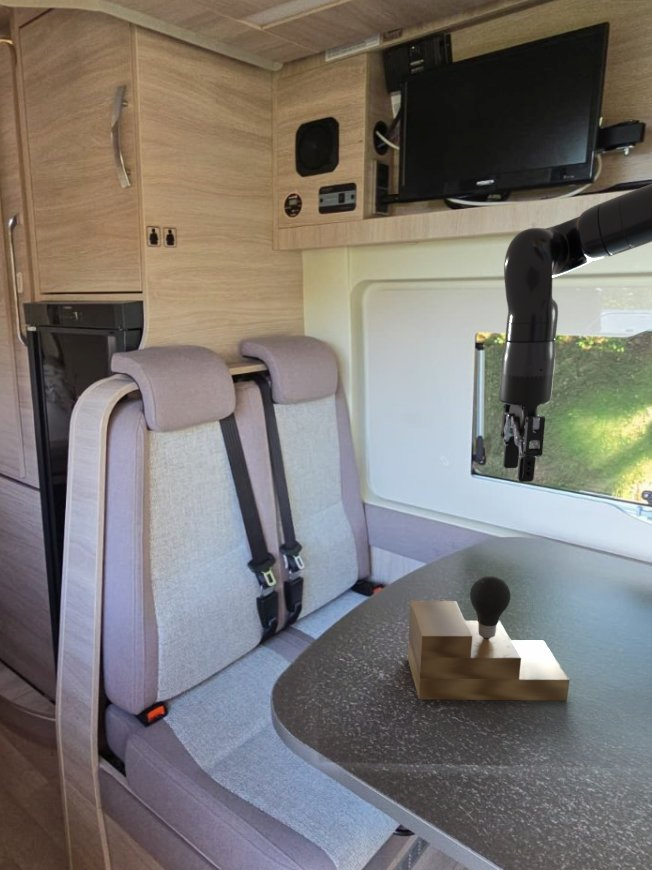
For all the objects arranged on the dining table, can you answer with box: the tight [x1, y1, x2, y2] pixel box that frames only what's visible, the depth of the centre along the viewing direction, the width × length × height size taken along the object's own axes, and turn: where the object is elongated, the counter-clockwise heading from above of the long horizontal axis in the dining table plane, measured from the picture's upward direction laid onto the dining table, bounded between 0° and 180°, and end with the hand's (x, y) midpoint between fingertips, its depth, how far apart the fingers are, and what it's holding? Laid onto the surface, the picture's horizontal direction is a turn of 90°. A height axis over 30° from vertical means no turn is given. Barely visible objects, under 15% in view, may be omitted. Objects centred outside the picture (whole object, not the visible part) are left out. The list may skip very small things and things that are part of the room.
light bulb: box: [469, 575, 511, 640], centre depth 107 cm, size 6×6×10 cm
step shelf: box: [407, 600, 570, 702], centre depth 109 cm, size 21×12×10 cm, turn 85°
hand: (517, 474), depth 115 cm, fingers open, 8 cm apart
